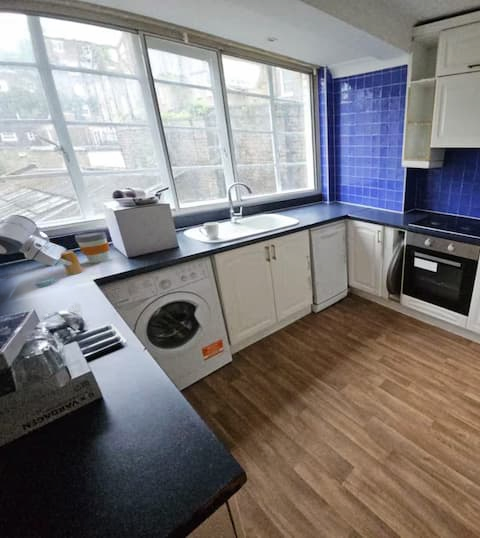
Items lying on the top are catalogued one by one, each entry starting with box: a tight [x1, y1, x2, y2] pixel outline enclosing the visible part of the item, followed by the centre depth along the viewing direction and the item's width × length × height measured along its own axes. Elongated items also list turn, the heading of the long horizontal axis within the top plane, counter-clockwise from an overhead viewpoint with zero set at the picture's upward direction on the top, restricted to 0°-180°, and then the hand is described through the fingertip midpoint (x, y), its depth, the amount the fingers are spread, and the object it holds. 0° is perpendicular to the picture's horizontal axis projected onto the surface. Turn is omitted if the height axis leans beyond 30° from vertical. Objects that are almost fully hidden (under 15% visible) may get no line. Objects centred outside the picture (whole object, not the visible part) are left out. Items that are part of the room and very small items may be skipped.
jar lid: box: [34, 277, 56, 288], centre depth 134 cm, size 6×6×2 cm
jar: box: [61, 250, 84, 276], centre depth 145 cm, size 6×6×10 cm
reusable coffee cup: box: [74, 230, 111, 264], centre depth 159 cm, size 13×13×15 cm
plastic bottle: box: [32, 226, 51, 266], centre depth 154 cm, size 6×7×20 cm
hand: (72, 262), depth 145 cm, fingers closed on jar, 6 cm apart
